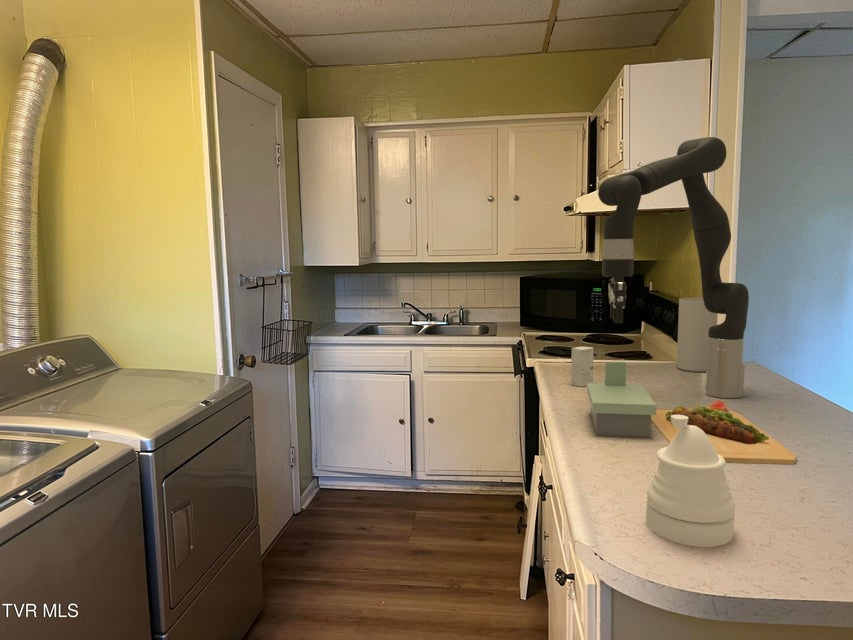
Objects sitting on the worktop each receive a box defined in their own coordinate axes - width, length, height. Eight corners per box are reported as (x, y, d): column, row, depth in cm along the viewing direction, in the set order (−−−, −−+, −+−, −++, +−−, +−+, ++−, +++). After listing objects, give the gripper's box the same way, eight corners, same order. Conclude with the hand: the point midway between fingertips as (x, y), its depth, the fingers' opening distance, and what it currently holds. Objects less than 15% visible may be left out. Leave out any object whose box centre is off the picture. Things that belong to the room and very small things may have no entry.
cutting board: (642, 415, 157) (643, 388, 156) (735, 417, 154) (737, 389, 153) (680, 463, 123) (681, 429, 122) (801, 468, 119) (803, 432, 118)
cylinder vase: (673, 370, 208) (675, 300, 205) (680, 364, 219) (683, 297, 215) (711, 374, 201) (715, 301, 198) (717, 367, 211) (721, 298, 208)
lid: (641, 393, 152) (642, 361, 151) (655, 415, 133) (657, 379, 132) (586, 391, 155) (587, 360, 154) (592, 412, 136) (593, 377, 135)
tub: (638, 418, 152) (639, 388, 151) (650, 441, 135) (651, 407, 134) (590, 416, 155) (590, 386, 154) (596, 438, 137) (596, 405, 136)
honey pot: (645, 539, 91) (649, 426, 88) (646, 504, 103) (649, 404, 100) (739, 553, 86) (745, 434, 84) (728, 515, 98) (733, 410, 96)
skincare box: (580, 387, 186) (581, 349, 185) (570, 384, 190) (570, 347, 188) (594, 384, 190) (594, 347, 188) (583, 382, 193) (583, 345, 192)
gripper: (637, 257, 140) (635, 325, 142) (629, 256, 154) (628, 318, 156) (605, 258, 142) (603, 324, 144) (600, 257, 156) (598, 317, 158)
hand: (616, 321), depth 150 cm, fingers open, 8 cm apart
